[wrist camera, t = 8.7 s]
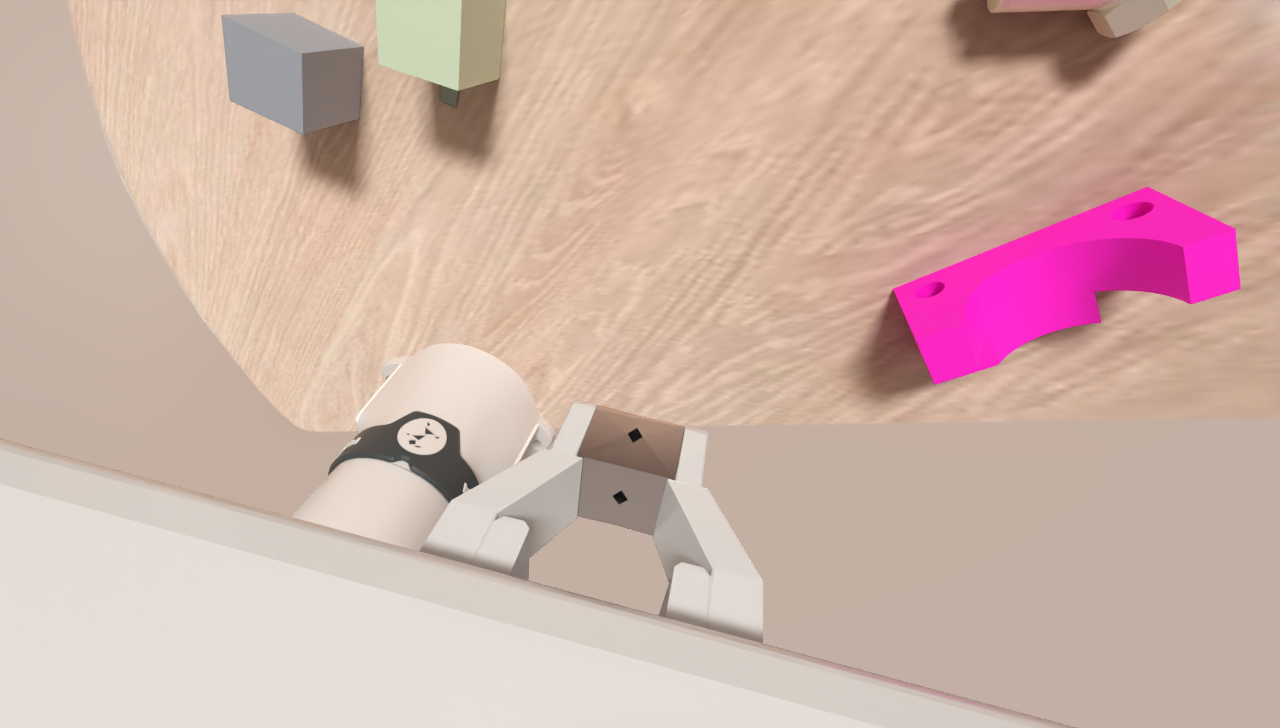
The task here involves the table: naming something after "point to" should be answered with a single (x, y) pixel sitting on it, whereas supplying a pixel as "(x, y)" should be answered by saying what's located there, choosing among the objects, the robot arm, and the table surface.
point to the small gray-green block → (448, 96)
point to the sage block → (442, 39)
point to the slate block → (292, 70)
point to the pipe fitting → (1096, 11)
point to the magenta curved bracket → (1065, 279)
